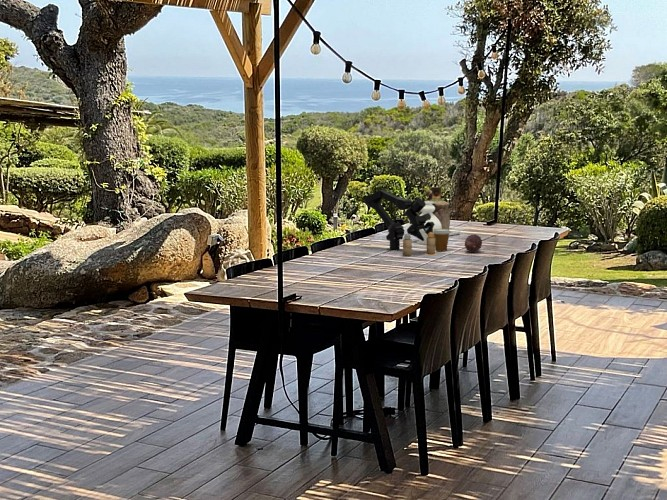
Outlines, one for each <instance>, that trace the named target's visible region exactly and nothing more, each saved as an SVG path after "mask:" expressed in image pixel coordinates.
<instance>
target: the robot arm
mask: <svg viewBox="0 0 667 500" xmlns="http://www.w3.org/2000/svg"><path fill="white" fill-rule="evenodd" d="M382 199H384V200H385V201H387V202H389V203H392V204H393V205H395V207H396V208H397V209H398V210H399V211H403V214H402V217H403V218H404V217H407V218H408V221H409V227H408V228H406V234H410V236H412V237H414V238H417V239H418V238H419V239H420V240H422V241H424V238H423V236H422V235H421V233H420V229H423V230H424V231H425V233H426V234H428V233H429V232H433V227H434V225H435V224H434V223H433V222H427V223H426V221H427V220H430V218H431V215H430V214H429V213H427V214H425V215H422V216H419V213H421V210H422V209H423V208H424V207H425V205H426V204H425V202H424V201H425V200H423V199H422V198H420V197H418V196H417V197H415V199H414V200H413V201H412V200H410V199H409V198H404V197H398V196H397V195H394V194H393V193H391V192H388V191H387V190H385V189H379V190H377V191H376V192H373V193H370V194H367V195H366V196H365V198H364V202H365V204H366V205H367V206H368V207H369V208H371V209H373V210H374V211H375V212H376V214H378V216H379V217H380V219H381V220H382V221H383V223H384V224H385V225H386V227H387V232H388V233H387V235H386V236H385V238H386V240H387V241H389V248H387V249H386V250H388V251H389V252H392V251H403V248H402V249H401V248H400V240H403V239H404V235H405V229H404V226H403V225H402V224H401V223H400V222H395V221H394V219H393V218H392V217H391V216H390V214H389V213H388V212H387V210H386V209H385V207H384V206H383V205H382ZM404 210H405V211H404ZM425 223H426V224H425ZM424 224H425V225H424ZM419 239H418V240H419Z"/></svg>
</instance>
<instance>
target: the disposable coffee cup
mask: <svg viewBox="0 0 667 500" xmlns="http://www.w3.org/2000/svg"><path fill="white" fill-rule="evenodd" d="M449 231H450V229H449V230H448V229H434V232H433V233H434V237H435V252H447V250H448V245H449V237H450V236H449V233H450V232H449Z"/></svg>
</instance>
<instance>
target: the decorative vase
mask: <svg viewBox="0 0 667 500" xmlns="http://www.w3.org/2000/svg"><path fill="white" fill-rule="evenodd" d="M423 201H424V202H425V204H426V205H425V207H424V208H423V209H422V210H421V211H420V214H418V216H422V215H425V214H427V213H429V214H430V215H431V218H430V220H427V221H426V223H427V222H433V223H434V224H435V225H434V227H433V232H434V229H442V226H441V223H440V221H439V220H438V218H437V217H436V216H435V215H434V214H433V213H432V212H433V211H434V210H435V207H434V206H433V205H432V204H433V203H434V202H432V201H427V200H423ZM421 212H422V214H421ZM426 223H425V224H426ZM425 224H424V225H425ZM420 233H421V235H422V236H423V238H424V241H422V240H420V239H419V238H417V239H418V240H417V241H416V243H417V244H418V245H419V244H421V245H427V237H428V234H426V233H425V231H424V230H423V229H420Z"/></svg>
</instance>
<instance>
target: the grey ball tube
mask: <svg viewBox="0 0 667 500" xmlns="http://www.w3.org/2000/svg"><path fill="white" fill-rule="evenodd" d="M411 237H412V235H410V234H408V233H404V235H403V238H402V255H403V256H412V255H413V253H412V251H413V247H412V246H413V245H412V241H413V239H412V238H411Z"/></svg>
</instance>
